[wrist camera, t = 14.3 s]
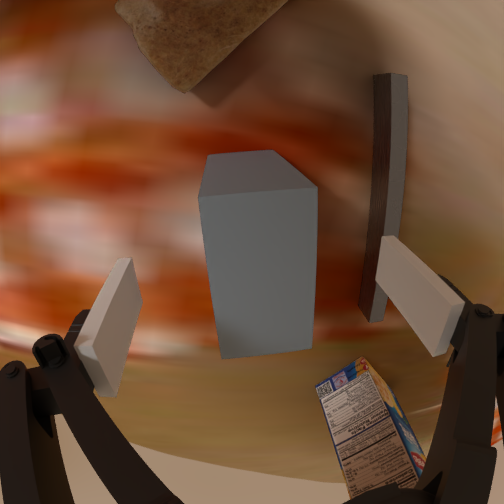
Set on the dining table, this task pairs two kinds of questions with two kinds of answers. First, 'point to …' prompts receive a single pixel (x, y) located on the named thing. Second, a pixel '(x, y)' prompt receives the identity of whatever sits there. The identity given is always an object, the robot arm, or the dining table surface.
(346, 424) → the blue food box
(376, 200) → the rail
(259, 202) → the slate carton
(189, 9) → the brown piece
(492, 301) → the dining table surface
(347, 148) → the dining table surface
